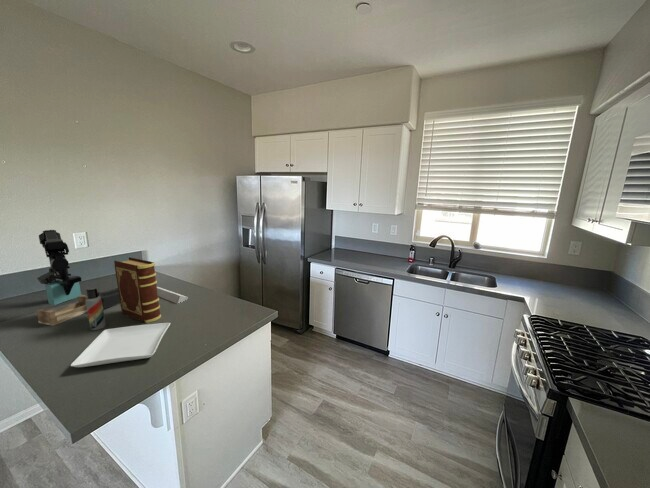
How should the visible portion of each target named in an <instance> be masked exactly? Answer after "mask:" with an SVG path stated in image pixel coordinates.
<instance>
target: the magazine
mask: <svg viewBox="0 0 650 488" xmlns="http://www.w3.org/2000/svg"><path fill="white" fill-rule="evenodd" d="M97 292H98V291H97ZM98 296H100V297H101V300H102V306H103V310H104V309H107V308H111V307H115V306H117V305H121V304H120V298H119V291H118V287H115V288H113V289H110V290H105V291H100V292H98Z"/></svg>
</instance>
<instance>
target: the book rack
mask: <svg viewBox="0 0 650 488" xmlns="http://www.w3.org/2000/svg"><path fill="white" fill-rule="evenodd" d="M86 299H87V294H86V295H85V294H81V296H79V297H77V301H78V302H74V303H72V304H70V305H67V306H65V307H62V308H60V309H57V310H52V309H46V308H39V309H36V310H35V311H36V315H37V319H38V321H37V322H38V324H42V325H46V326H47V325H48V326H52V327H54V326H56V325H59V324H61V323H63V322H66V321H68V320H71V319H74V318H76V317H79V316H81V315H83V314H85V313H88V312H87V307H86V301H85V300H86Z"/></svg>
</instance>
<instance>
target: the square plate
mask: <svg viewBox="0 0 650 488" xmlns="http://www.w3.org/2000/svg"><path fill="white" fill-rule="evenodd" d="M170 325H171V322H163V323H162V322H161V323H151V324H150V323H149V324H148V323H147V324H141V325H140V324H139V325H138V324H137V325H130V326H122V327H115V328H107V329H104V330H103V331H101V333H100V334H99V335H98V336H97V337H96V338H95V339H94V340H93V341H92V342H91V343H90V344H89V345H88V346H87V347H86V348H85V349H84V350H83V351H82V352H81V353H80V354H79V355H78V356H77V357H76V358H75V360H74V361H73V362H71V364H70V367H74V368H85V367H87V368H88V367H93V366H101V365H102V366H103V365H107V364H115V363H120V362H121V363H123V362H128V361H130V362H131V361H135V360H142V359H148V358H151V357H152V356H154V354H155V353H156V351H157V350H158V347H159V345H160V343H161V341H162V339H163V337H164V335H165V334H166V332H167V331H168V328H169V327H170Z"/></svg>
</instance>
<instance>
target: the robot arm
mask: <svg viewBox="0 0 650 488" xmlns="http://www.w3.org/2000/svg"><path fill="white" fill-rule="evenodd" d="M38 241H39V244H40V245H41V247H42V248H44V249H43V250H44V252H45V256H46V258H48V259H49V266H50V268H49V269H48V272H46V273H44V274H42V275H39V277H37V280H38V282H40V284H42V285H47V284H51V283H55V282H58V281H62V282H63V283H62V284H60V285H62V286H63V287H64V290H65V293H66V295H69V294H70V292H71V289H72V287H73V285H74V283H77V282H79V283H80V282H82V281H83V280H82V277H81V276H79V275H72V273H70V272H69V269H70V266H69V261H68V259H67V257H66V255H69V253H70V250H69V246H68V244H67V243H66V242H64V241H63V239H62V238H61V233H59V232H58V231H57V230H56V229H46V230H43V231H42V232H41V233H40V234H38Z"/></svg>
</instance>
